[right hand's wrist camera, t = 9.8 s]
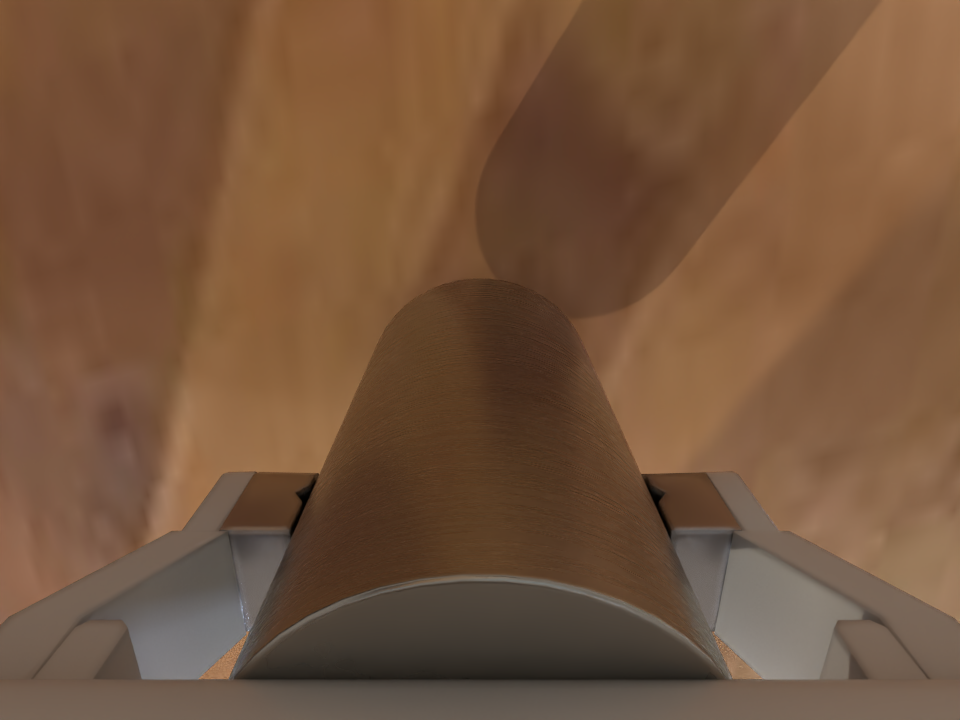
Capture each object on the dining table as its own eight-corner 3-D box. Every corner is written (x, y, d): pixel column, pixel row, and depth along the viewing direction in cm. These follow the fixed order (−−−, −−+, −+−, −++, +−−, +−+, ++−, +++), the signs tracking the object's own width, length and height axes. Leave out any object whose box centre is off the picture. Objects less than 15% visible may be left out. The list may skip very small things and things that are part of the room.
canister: (621, 429, 15) (821, 875, 6) (433, 506, 16) (375, 995, 7) (535, 238, 13) (644, 483, 5) (330, 336, 14) (83, 705, 5)
